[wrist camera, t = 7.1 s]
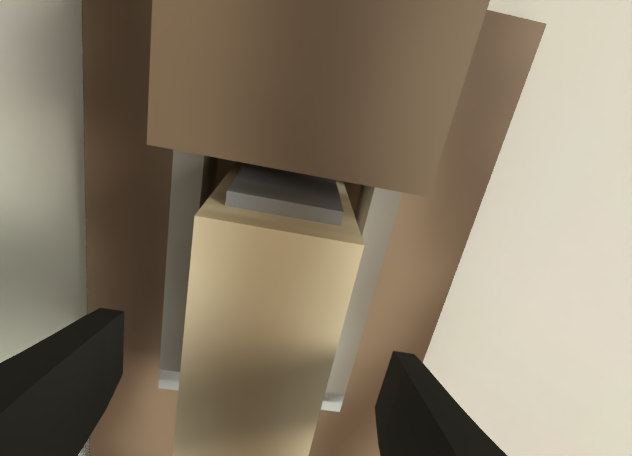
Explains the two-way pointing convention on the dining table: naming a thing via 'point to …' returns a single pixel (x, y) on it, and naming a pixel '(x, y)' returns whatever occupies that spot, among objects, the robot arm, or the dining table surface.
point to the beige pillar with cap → (264, 312)
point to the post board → (147, 222)
